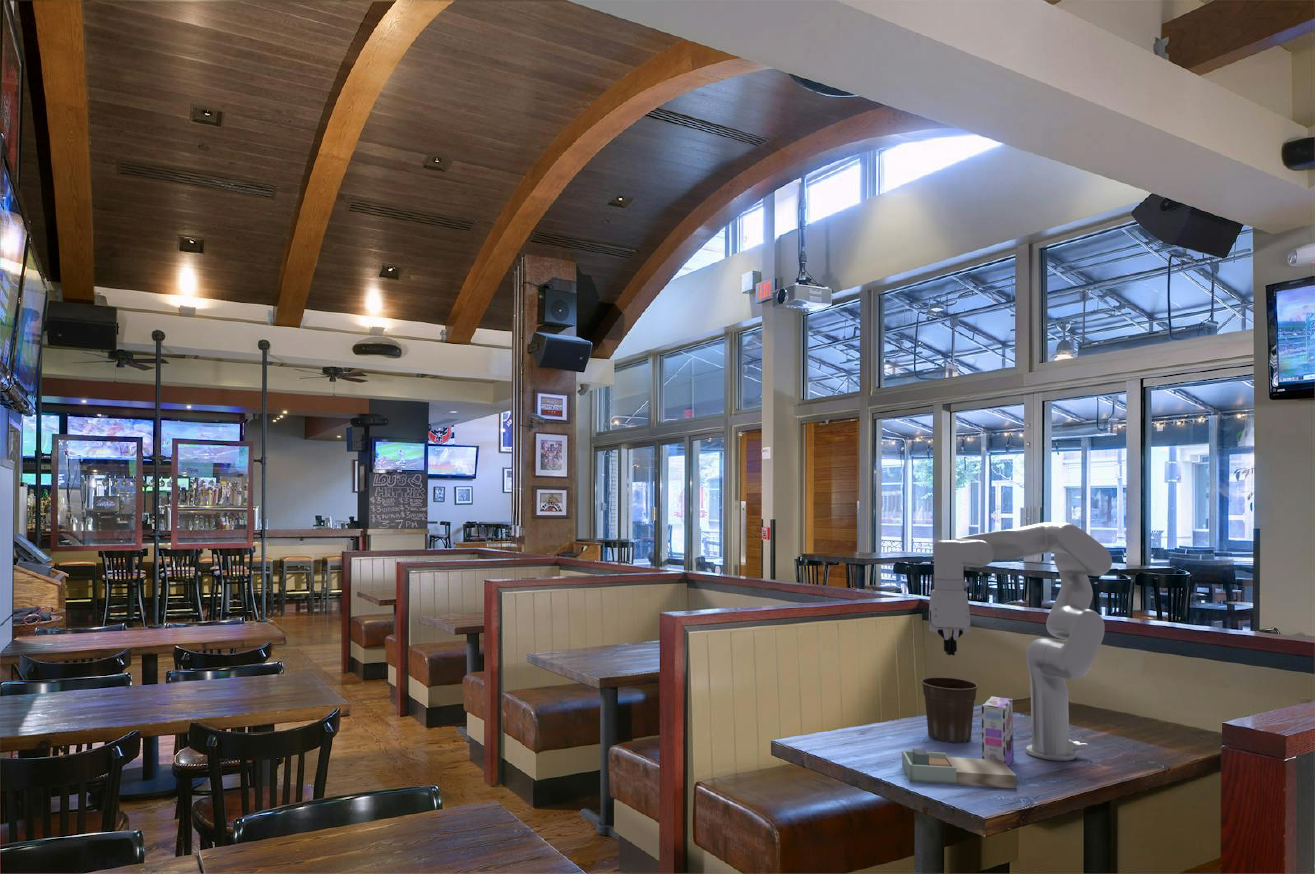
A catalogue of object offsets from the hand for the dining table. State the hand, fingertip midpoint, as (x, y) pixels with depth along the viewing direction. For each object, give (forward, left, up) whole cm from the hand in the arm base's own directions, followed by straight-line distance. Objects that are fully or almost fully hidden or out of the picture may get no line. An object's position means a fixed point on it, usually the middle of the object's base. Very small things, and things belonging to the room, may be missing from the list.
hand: (950, 654), depth 227 cm
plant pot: (-5, -26, -29) cm, 39 cm away
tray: (+8, +12, -29) cm, 32 cm away
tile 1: (+8, +12, -25) cm, 29 cm away
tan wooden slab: (-4, +12, -29) cm, 31 cm away
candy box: (-12, -2, -29) cm, 31 cm away
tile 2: (+6, +12, -28) cm, 31 cm away
